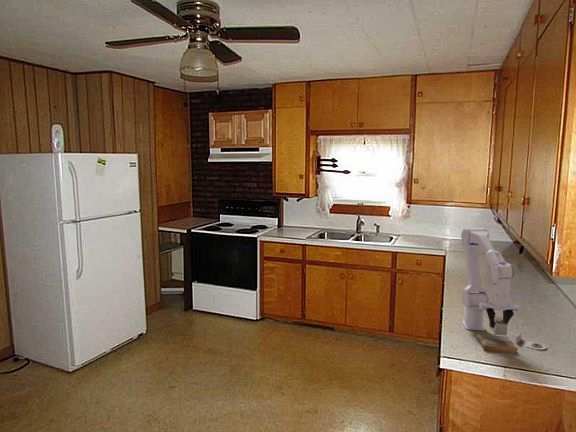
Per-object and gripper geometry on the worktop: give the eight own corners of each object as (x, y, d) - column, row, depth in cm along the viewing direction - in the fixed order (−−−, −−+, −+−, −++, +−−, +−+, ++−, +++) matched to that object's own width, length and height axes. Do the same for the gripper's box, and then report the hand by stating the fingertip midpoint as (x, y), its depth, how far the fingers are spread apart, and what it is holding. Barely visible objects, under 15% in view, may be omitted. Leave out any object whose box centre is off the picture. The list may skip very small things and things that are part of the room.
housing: (489, 326, 167) (490, 314, 166) (499, 327, 166) (500, 315, 165) (495, 334, 159) (496, 322, 158) (506, 335, 158) (507, 323, 157)
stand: (476, 339, 169) (477, 333, 169) (507, 341, 167) (508, 336, 167) (483, 350, 160) (484, 344, 159) (517, 353, 158) (517, 347, 157)
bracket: (544, 353, 159) (545, 344, 158) (515, 345, 165) (516, 336, 165) (548, 347, 163) (548, 339, 163) (519, 339, 170) (520, 331, 170)
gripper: (483, 296, 158) (481, 329, 160) (524, 298, 155) (521, 332, 157) (478, 290, 165) (476, 322, 166) (517, 292, 162) (514, 325, 164)
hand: (497, 327), depth 162 cm, fingers closed on housing, 4 cm apart
